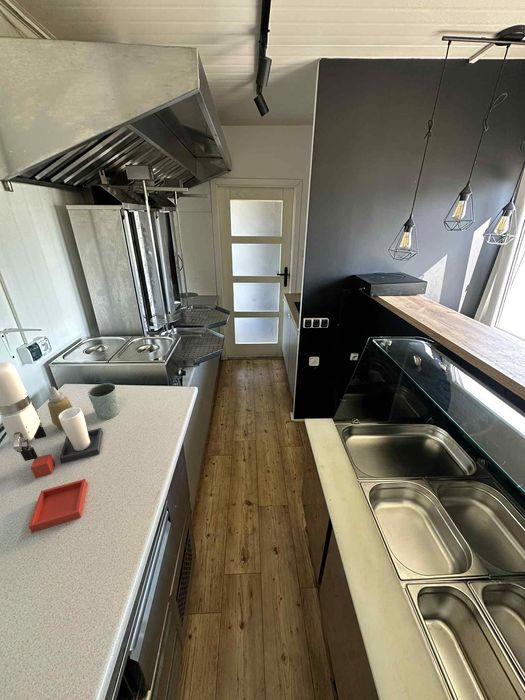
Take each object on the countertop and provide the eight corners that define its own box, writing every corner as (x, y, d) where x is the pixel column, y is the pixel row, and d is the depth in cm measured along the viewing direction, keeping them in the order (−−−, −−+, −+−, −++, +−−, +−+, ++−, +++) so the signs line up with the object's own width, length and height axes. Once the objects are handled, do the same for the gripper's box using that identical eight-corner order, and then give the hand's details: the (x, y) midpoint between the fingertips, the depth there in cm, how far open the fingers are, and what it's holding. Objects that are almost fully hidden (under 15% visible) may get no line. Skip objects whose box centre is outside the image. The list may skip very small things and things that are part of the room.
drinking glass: (70, 445, 103) (56, 412, 97) (91, 436, 107) (79, 404, 101) (73, 456, 99) (59, 422, 92) (95, 447, 103) (83, 413, 96)
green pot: (98, 408, 124) (91, 384, 119) (124, 404, 126) (117, 381, 121) (93, 423, 115) (84, 398, 110) (120, 418, 117) (113, 394, 112)
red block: (35, 477, 92) (30, 467, 90) (39, 467, 95) (34, 457, 93) (51, 473, 93) (47, 463, 91) (55, 463, 97) (50, 453, 95)
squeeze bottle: (53, 424, 114) (37, 387, 107) (76, 416, 119) (62, 379, 111) (57, 435, 109) (40, 396, 101) (81, 425, 114) (67, 387, 106)
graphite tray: (61, 463, 97) (58, 458, 95) (68, 440, 106) (66, 435, 105) (99, 454, 100) (97, 448, 99) (103, 432, 110) (101, 427, 109)
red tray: (31, 533, 76) (28, 527, 75) (43, 496, 85) (41, 490, 84) (81, 517, 79) (78, 511, 78) (87, 484, 89) (85, 478, 88)
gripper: (9, 391, 89) (31, 433, 96) (-16, 426, 74) (11, 472, 82) (38, 385, 91) (57, 427, 98) (18, 418, 76) (42, 464, 84)
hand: (36, 447), depth 90 cm, fingers open, 9 cm apart
